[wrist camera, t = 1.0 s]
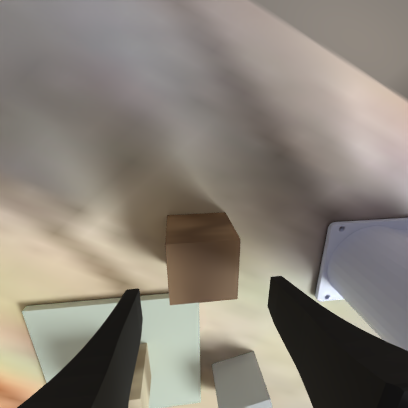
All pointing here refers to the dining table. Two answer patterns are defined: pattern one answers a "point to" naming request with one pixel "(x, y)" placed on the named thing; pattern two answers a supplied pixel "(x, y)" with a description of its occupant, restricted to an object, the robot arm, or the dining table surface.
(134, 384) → the maple block
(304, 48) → the dining table surface
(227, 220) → the walnut block
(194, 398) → the station board
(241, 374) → the grey block
